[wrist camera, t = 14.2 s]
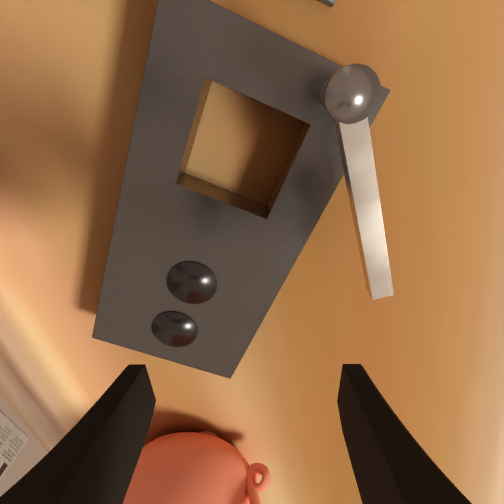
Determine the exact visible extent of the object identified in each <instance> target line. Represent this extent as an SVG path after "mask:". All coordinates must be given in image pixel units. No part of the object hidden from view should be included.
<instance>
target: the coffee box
mask: <svg viewBox="0 0 504 504" xmlns="http://www.w3.org/2000/svg"><path fill="white" fill-rule="evenodd" d="M28 438H29V437H28V436H27V435H26V434H25V433H24V432H23V431H22V430H21V429H20V428H19V427H18V426H16V425H15V424H14V423H13V422H12V421H11V420H10V419H9V418H8V417H7V416H6V415H5V414H4V413H3V412H2V411H1V410H0V481H1V479H2V478H3V476H4V475H5V473H6V472H7V470H8V469H9V467H10V466H11V464H12V463H13V461H14V460H15V458H16V457H17V455H18V454H19V452H20V451H21V449H22V448H23V446H24V445H25V444H26V442H27V441H28Z"/></svg>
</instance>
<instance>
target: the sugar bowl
mask: <svg viewBox="0 0 504 504" xmlns="http://www.w3.org/2000/svg"><path fill="white" fill-rule="evenodd" d="M259 475H262V480H261V481H260V483H256V481H257V477H258V476H259ZM269 482H270V473H269V470H268V468H267V467H266V466H265V465H263V464H261V463H254V464H252V465H250V466H249V464H248V462H247V461H246V460H245V458H244V457H243V456H242V454H241V453H240V452H239V451H238V450H237V449H236V448H235V447H234V446H233V445H231V444H230V443H228V442H226V441H225V440H222V439H220V438H218V437H217V435H216V434H215V433H213V432H210V431H202V432H200V433H195V432H177V433H171V434H167V435H163V436H161V437H158V438H156V439H154V440H153V441H151V442H150V443H148V444H147V445H145V446H144V447H143V448H142V451H141V454H140V457H139V460H138V462H137V465H136V468H135V471H134V473H133V476H132V479H131V482H130V485H129V487H128V490H127V493H126V496H125V499H124V501H123V504H260V500H259V496H258V491H264V490H265V489H266V488H267V487H268V485H269Z"/></svg>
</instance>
